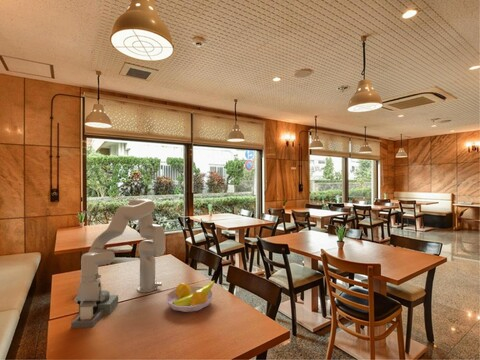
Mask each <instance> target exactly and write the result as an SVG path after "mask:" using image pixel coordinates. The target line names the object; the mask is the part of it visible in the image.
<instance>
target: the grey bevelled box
mask: <svg viewBox="0 0 480 360" xmlns="http://www.w3.org/2000/svg"><path fill="white" fill-rule="evenodd" d="M93 307H94V303H93V301H84V302H83V303H82V304H81V305H80V314H79V315H80V320H81V319H91V318H92V317H93V316H94V315H93Z"/></svg>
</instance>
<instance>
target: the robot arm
mask: <svg viewBox="0 0 480 360" xmlns="http://www.w3.org/2000/svg"><path fill="white" fill-rule="evenodd" d="M155 204H156V203H155V202H154V201H153V200H152V199H144V198H133V199H130V200H129V202H128V205H125V204H124V205H119V206H118V208H117V209H116V211H115V213H114V215H113V217H112V219H111V221H110V223H109V225H108V226H107V228H106V229H105V230H104V231H103V232H101V234H99V235H98V236H97V237H96V238H95V239H94V240H93V242H92V244H91V246H90V248H89V249H88V252H86V253H83V254H82V255H81V259H80V281H79V282H78V283H79V284H78V289H77V295H76V296H75V298H74V299H73V301H74V302H75V303H77V304H78V306H79V305H81V304H82V303H83V302H84V301H93V303H94V307H93V315H95V314H96V313H97V312H98V304H99V303H100V302H102V301H103V300H104V299H105V297H104V296H103V295H102V290H103V289H102V283H101V279H100V278H101V277H102V275H101V274H99V266H104V265H106V266H107V265H109V264H110V263H112V262H113V261H114V260H115V258H116V256H115V252H114V251H113V250H111V249H107V248H104V247H105V246H106V244H108V243H109V242H110V241H111V240H114V239H115V238H118V237H120V236H122V235H123V233H124V232H125V230H126V228H127V226H128V223H129V222H130V221H131V222H134V221H135V222H136V221H138V225H139V226H138V227H139V235H140V238H142V239H144V240H142V241H140V242H139V244H138V249H137V250H138V254H139V285H138V286H137V287H136V290H137V292H139V293H151V292H154V291H156V290H157V289H158V287H162V286H163V283H162V282H161V281H159V282H158V281H157V279H156V258H159V257H162V256H163V255H164V253H165V251H166V236H165V235H166V234H165V229H164V228H163V226H162V225H160V224H156V223H154V219H153V212H154V211H155V207H156V205H155ZM155 257H156V258H155ZM99 297H100V298H101V299H100V300H98V298H99Z"/></svg>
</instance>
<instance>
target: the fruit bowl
mask: <svg viewBox="0 0 480 360" xmlns="http://www.w3.org/2000/svg"><path fill="white" fill-rule="evenodd" d="M214 283H215V280H212V282H210V283H208V284H206V285H204V286H200V285H197V286H196V285H190V284H188V283H186V282H182V283H179V284H178V285H177V286H176V288H174V289H173V290H171V291H169V292H168V293H167V294H166V295H165V298H166V299H165V302H166V303H167V305H168V306H169V307H170V308H171V309H172V310H173V311H178V312H179V311H180V312H183V313H184V312H185V313H190V312H197V311H199V310H202V309H203V308H206V307H208V306H210V304H211V302H212V300H213V298H214V294H213V292H212V290H211V289H212V288H213V286H214ZM190 305H192V306H190Z"/></svg>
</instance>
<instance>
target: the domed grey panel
mask: <svg viewBox="0 0 480 360" xmlns="http://www.w3.org/2000/svg"><path fill="white" fill-rule="evenodd" d="M102 295H103V296H104V297H105V299H104V300H103V301H102V302H100V303H99V304H98V312H97V313H96V314H95V315H94V316H93V317H92V318H91V319H81V320H80V305H79V304H78V316H76V317H75V318H74V319H73V320H72V321H71V323H70V328H72V329H75V328H76V329H77V328H81V329H82V328H94V327H95V325H97V323H98V322H99V321H100V319H101V318H102V317H103V316H104V315H109V314H111V313H112V312H113V310H114V309H115V308H116V307H118V305H119V294H110V291H109V290H106V289H105V290H104V289H102ZM100 299H101V298H100V297H99V298H98V300H100Z"/></svg>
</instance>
